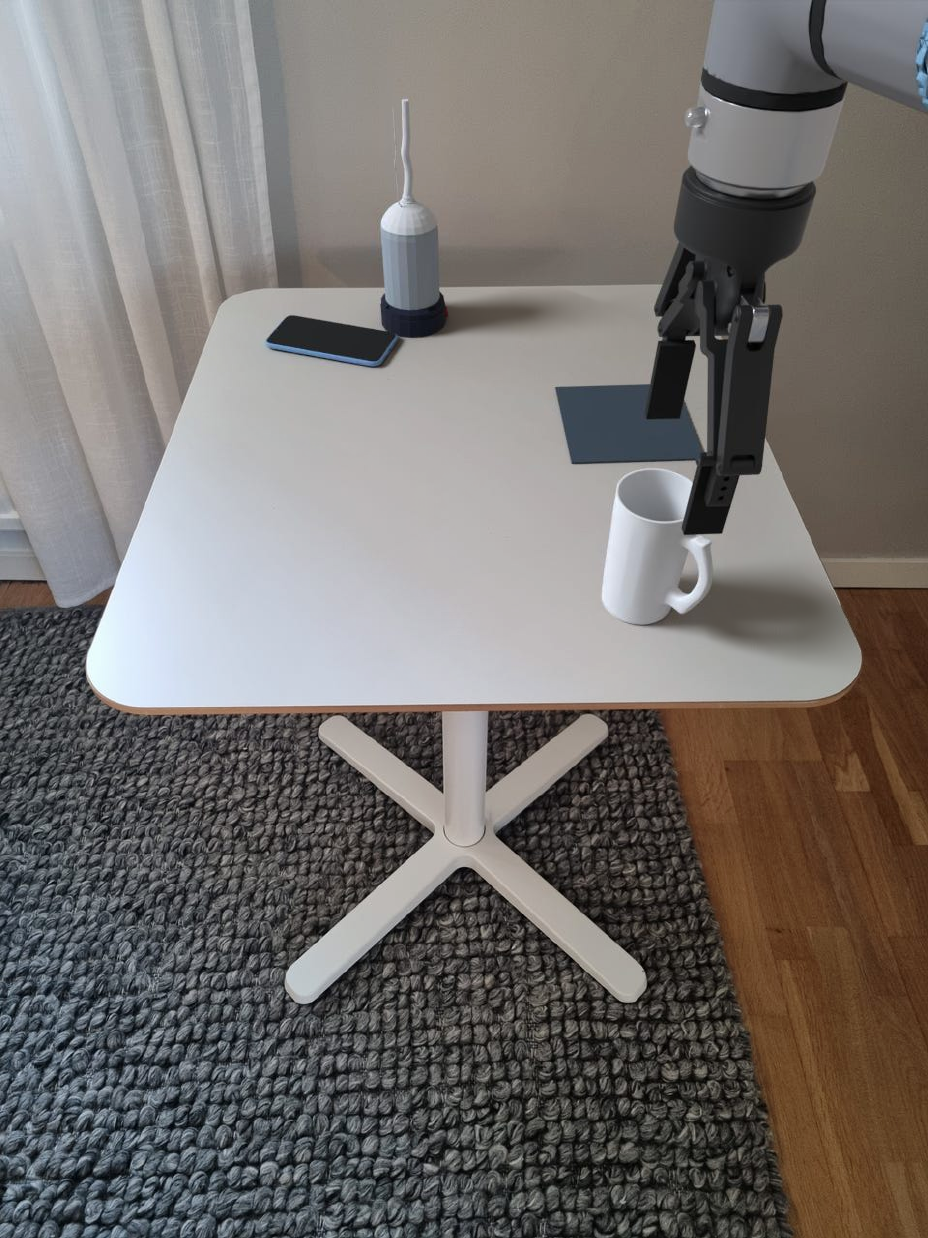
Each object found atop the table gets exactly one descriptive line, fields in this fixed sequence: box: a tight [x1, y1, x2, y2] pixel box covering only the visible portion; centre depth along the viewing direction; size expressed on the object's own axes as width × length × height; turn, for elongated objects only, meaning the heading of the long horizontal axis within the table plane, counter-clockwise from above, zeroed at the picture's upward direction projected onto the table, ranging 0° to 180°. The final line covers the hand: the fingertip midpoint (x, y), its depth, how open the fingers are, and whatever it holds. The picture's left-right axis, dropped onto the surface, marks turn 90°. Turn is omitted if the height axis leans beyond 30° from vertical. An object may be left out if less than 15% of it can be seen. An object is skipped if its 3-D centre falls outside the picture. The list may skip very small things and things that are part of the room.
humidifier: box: [379, 98, 449, 339], centre depth 101 cm, size 8×8×25 cm
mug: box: [601, 467, 714, 626], centre depth 72 cm, size 10×7×12 cm, turn 36°
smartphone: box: [265, 314, 398, 367], centre depth 106 cm, size 7×1×15 cm
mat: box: [554, 383, 704, 465], centre depth 95 cm, size 14×14×1 cm
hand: (680, 470), depth 65 cm, fingers open, 13 cm apart
